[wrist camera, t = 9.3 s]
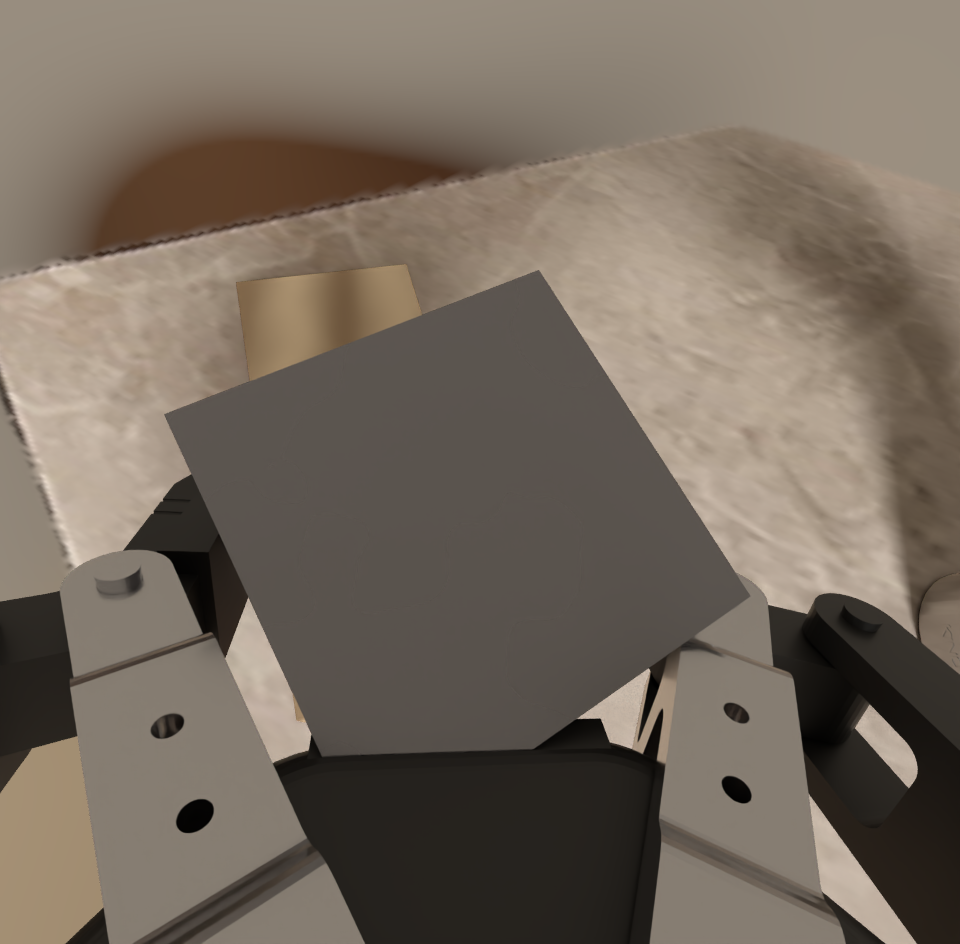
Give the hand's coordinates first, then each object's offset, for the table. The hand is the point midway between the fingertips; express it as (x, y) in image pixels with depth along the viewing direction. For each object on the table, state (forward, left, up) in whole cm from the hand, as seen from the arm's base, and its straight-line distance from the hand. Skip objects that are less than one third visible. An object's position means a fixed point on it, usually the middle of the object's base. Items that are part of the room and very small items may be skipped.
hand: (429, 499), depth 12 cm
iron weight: (0, +2, -4) cm, 5 cm away
